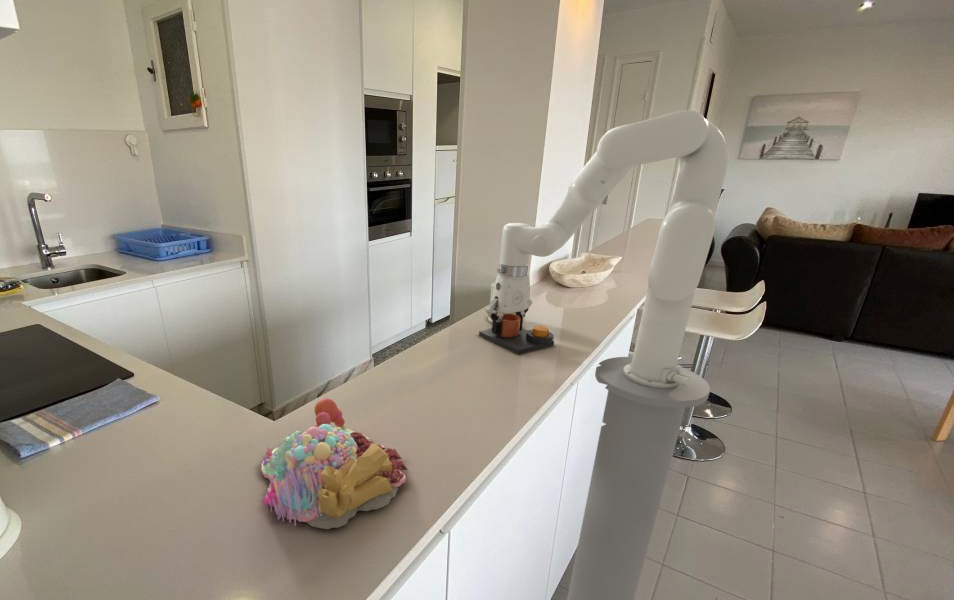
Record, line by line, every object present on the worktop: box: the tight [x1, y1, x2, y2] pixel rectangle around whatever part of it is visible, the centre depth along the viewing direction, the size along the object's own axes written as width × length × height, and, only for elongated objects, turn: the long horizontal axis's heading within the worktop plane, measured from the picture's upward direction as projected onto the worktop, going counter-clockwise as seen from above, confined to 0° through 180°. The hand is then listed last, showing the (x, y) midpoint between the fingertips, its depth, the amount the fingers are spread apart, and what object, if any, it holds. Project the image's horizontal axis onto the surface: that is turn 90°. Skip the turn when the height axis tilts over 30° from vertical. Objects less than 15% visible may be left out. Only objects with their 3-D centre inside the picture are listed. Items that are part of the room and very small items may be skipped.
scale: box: [478, 327, 555, 356], centre depth 134 cm, size 16×14×3 cm
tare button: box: [532, 325, 549, 337], centre depth 131 cm, size 4×4×2 cm
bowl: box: [497, 314, 521, 337], centre depth 135 cm, size 7×7×5 cm
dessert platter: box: [260, 397, 408, 530], centre depth 77 cm, size 25×24×9 cm
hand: (506, 331), depth 135 cm, fingers open, 7 cm apart
